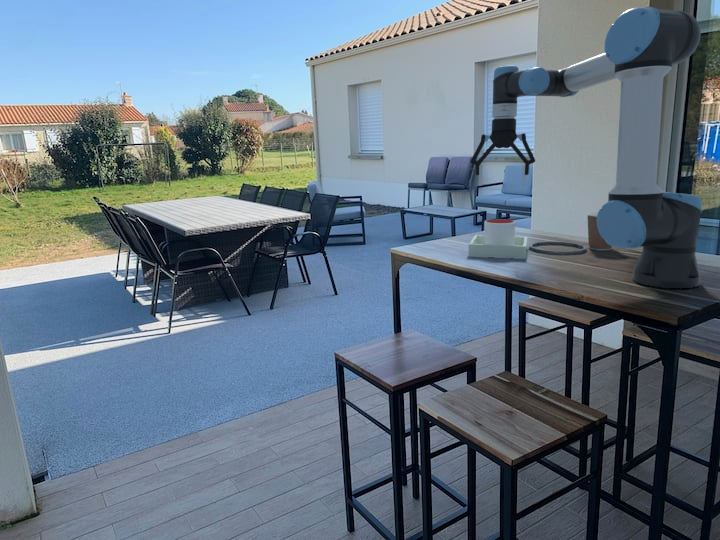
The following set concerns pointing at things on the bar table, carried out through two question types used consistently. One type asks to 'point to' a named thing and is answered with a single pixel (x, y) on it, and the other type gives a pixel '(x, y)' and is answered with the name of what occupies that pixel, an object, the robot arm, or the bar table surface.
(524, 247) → the bin
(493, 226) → the cup
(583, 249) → the socket ring
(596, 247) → the coffee cup
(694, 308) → the bar table surface
